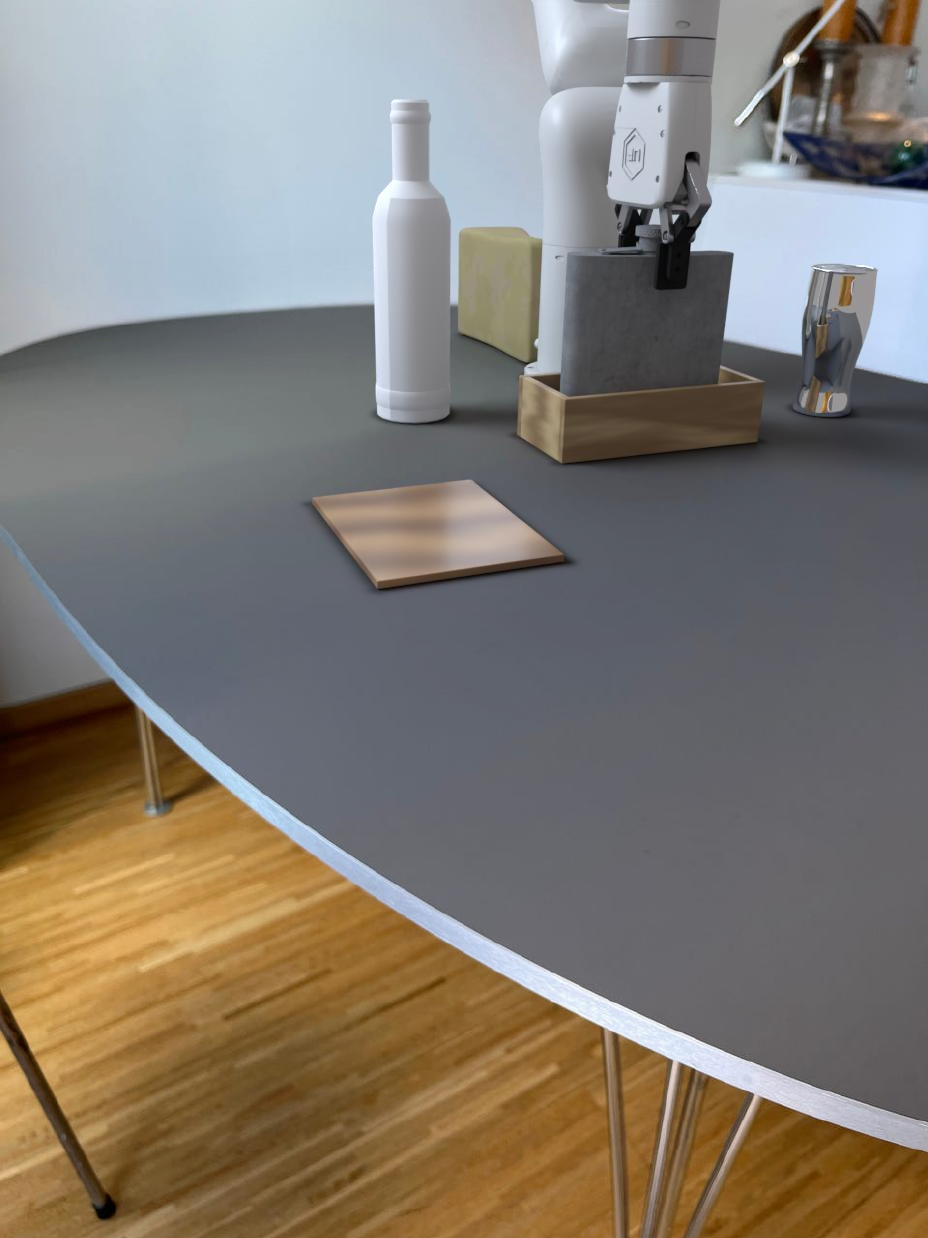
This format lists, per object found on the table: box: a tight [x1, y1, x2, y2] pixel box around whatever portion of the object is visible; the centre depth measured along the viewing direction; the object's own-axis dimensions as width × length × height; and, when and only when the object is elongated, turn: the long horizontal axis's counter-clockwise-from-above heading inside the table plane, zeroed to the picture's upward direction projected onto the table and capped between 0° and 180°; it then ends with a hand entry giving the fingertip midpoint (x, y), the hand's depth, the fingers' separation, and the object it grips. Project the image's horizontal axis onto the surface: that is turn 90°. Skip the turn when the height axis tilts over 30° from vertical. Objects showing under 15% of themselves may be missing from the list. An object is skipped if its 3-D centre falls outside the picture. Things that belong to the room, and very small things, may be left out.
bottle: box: [371, 98, 452, 424], centre depth 104 cm, size 8×8×30 cm
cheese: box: [457, 226, 543, 364], centre depth 139 cm, size 22×10×15 cm, turn 14°
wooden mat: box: [311, 479, 565, 590], centre depth 79 cm, size 18×14×1 cm
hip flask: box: [560, 224, 735, 397], centre depth 98 cm, size 16×4×20 cm, turn 99°
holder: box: [516, 364, 767, 464], centre depth 101 cm, size 10×22×6 cm, turn 111°
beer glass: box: [792, 263, 879, 418], centre depth 110 cm, size 7×7×15 cm
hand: (650, 281), depth 96 cm, fingers open, 6 cm apart
